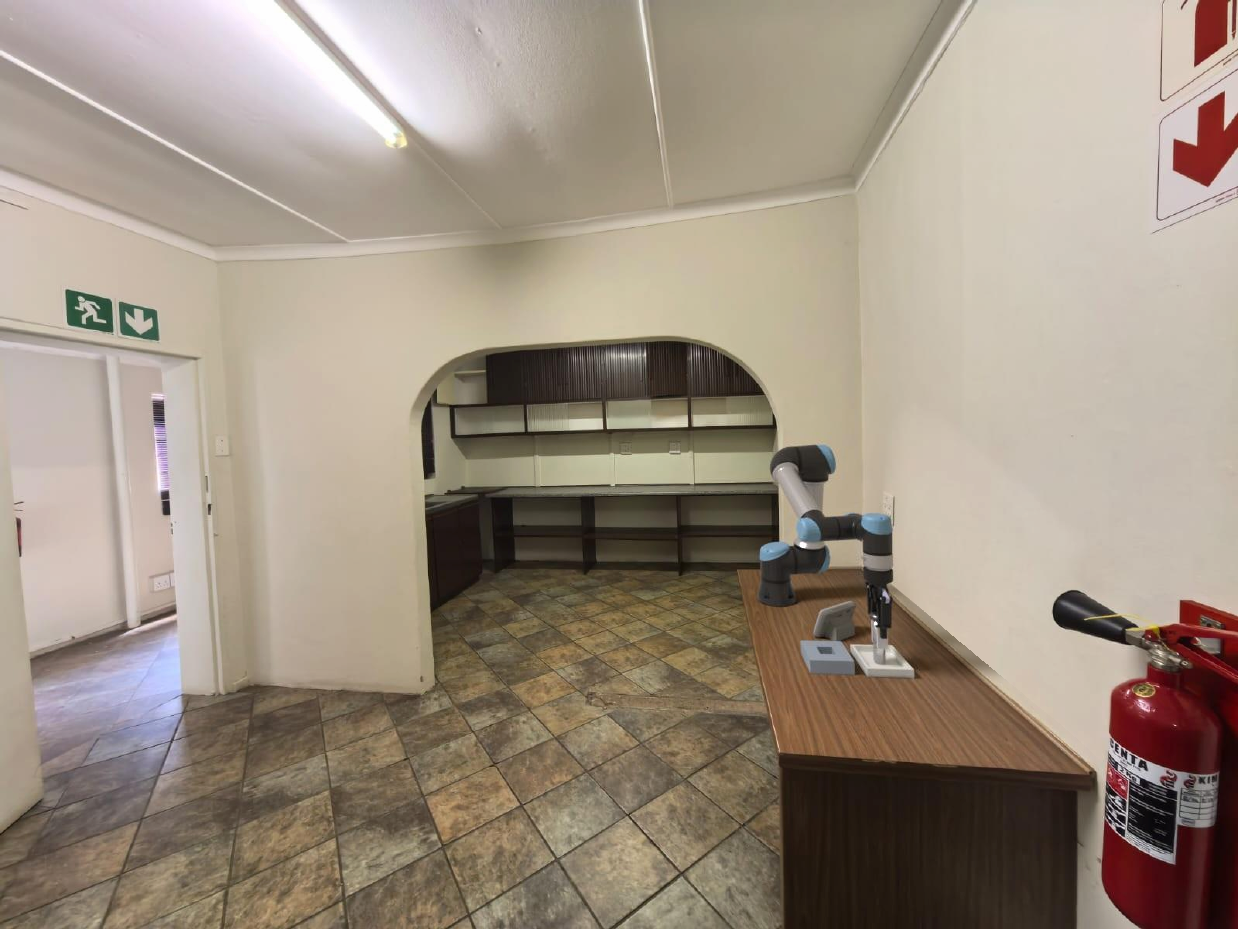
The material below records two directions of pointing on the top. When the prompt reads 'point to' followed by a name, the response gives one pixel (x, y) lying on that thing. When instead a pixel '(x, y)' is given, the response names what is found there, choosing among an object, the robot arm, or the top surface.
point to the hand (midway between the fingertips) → (879, 644)
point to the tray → (890, 669)
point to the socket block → (827, 657)
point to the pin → (878, 653)
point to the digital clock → (836, 622)
